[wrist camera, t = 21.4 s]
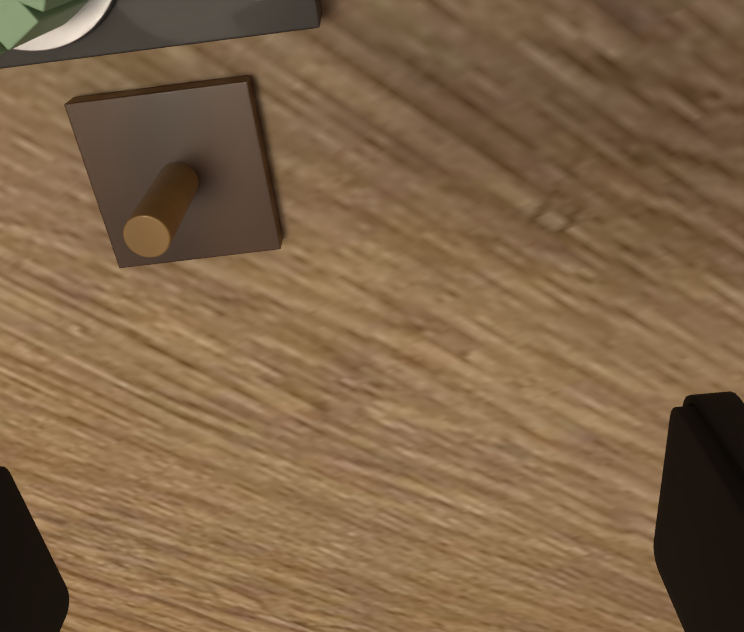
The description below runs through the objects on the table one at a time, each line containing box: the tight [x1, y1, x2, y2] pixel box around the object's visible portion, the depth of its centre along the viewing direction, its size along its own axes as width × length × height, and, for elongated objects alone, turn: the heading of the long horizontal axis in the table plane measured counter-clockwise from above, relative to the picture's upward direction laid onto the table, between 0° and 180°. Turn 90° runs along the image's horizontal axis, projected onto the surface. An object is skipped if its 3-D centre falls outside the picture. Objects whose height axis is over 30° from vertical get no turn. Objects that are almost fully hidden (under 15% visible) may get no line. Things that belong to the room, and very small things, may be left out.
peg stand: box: [65, 75, 283, 268], centre depth 30 cm, size 8×8×7 cm
